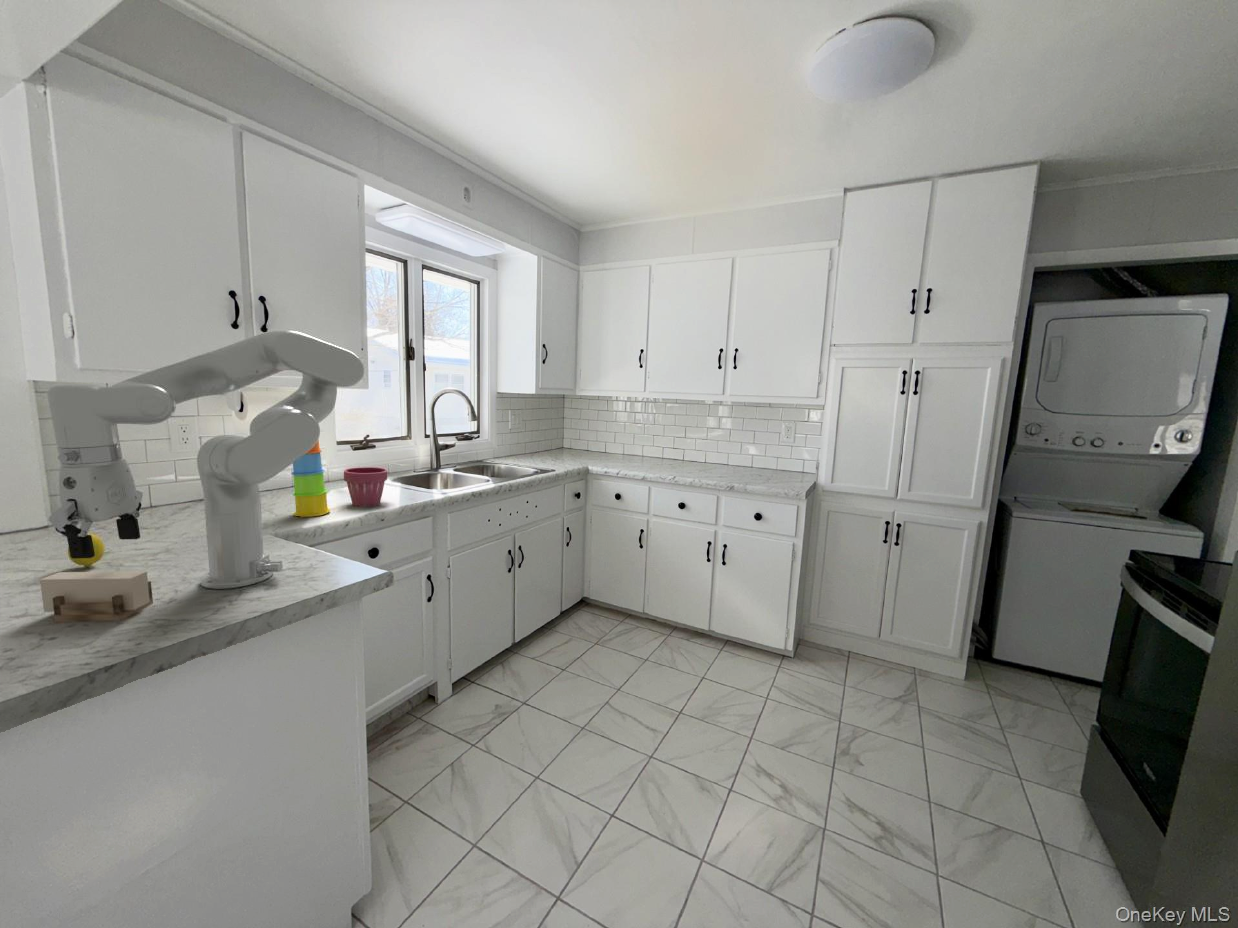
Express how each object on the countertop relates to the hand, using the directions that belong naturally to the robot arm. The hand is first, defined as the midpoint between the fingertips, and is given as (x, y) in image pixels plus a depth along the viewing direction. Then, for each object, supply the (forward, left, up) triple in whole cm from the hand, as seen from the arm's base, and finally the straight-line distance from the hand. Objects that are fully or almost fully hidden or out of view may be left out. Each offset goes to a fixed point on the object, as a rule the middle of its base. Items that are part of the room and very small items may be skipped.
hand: (107, 547), depth 89 cm
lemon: (+23, -23, -12) cm, 35 cm away
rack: (+1, +1, -12) cm, 12 cm away
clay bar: (+2, +1, -11) cm, 11 cm away
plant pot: (-14, -88, -12) cm, 90 cm away
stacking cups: (-2, -73, -12) cm, 74 cm away
